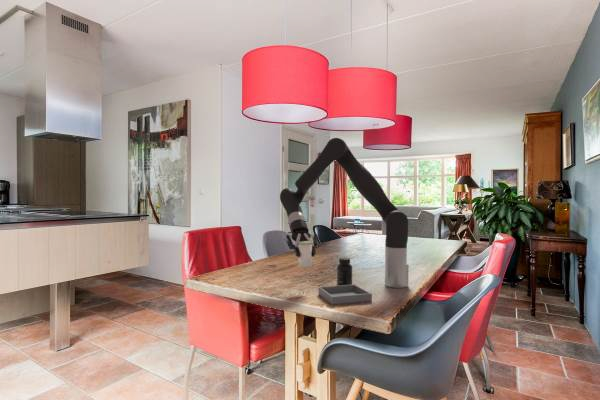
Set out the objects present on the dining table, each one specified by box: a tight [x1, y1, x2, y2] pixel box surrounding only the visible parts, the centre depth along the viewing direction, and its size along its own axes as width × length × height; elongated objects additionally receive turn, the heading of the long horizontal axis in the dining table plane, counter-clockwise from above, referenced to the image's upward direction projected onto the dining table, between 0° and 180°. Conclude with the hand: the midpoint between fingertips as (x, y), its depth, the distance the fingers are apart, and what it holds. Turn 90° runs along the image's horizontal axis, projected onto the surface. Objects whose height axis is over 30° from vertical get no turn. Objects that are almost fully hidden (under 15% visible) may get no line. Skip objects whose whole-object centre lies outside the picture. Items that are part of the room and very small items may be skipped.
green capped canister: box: [297, 240, 313, 268], centre depth 142 cm, size 6×6×10 cm
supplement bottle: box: [336, 257, 353, 286], centre depth 152 cm, size 7×7×12 cm
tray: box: [318, 283, 373, 306], centre depth 133 cm, size 16×14×3 cm
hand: (306, 255), depth 140 cm, fingers closed on green capped canister, 5 cm apart
